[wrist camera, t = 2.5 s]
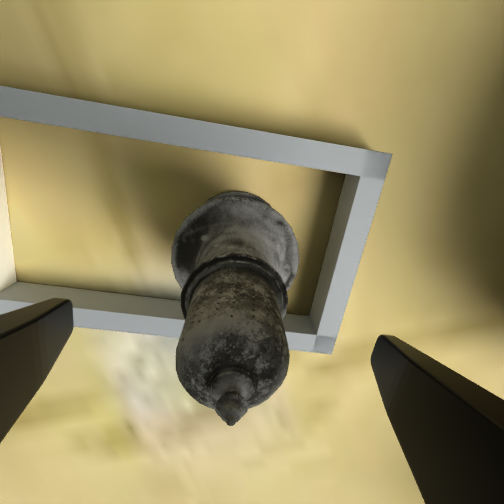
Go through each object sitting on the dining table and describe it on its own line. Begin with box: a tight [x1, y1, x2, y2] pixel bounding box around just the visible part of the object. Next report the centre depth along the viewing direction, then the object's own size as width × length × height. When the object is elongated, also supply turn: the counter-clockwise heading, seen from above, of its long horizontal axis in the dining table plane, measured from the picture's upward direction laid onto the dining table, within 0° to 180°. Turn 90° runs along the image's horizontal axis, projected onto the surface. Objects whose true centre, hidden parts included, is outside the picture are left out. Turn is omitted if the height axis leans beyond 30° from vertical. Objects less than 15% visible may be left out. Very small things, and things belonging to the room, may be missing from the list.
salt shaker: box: [171, 191, 299, 426], centre depth 11 cm, size 6×6×12 cm
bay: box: [0, 86, 392, 354], centre depth 15 cm, size 20×11×3 cm, turn 81°
